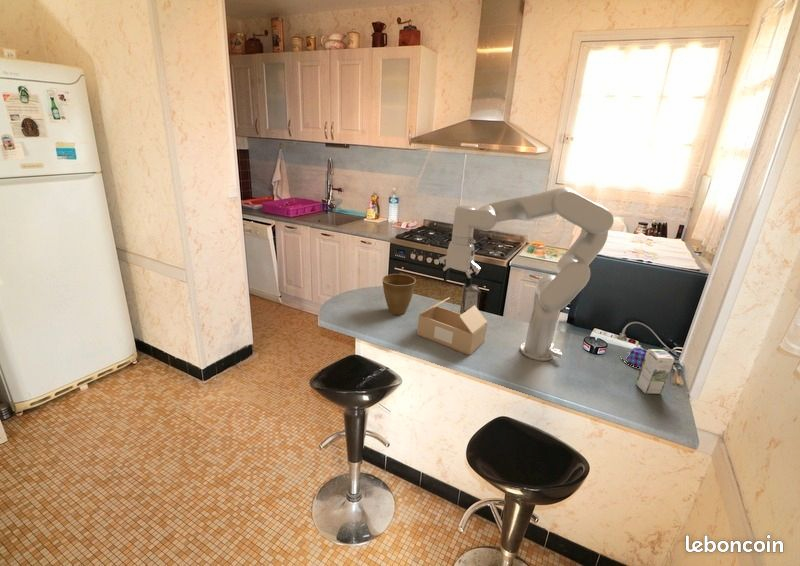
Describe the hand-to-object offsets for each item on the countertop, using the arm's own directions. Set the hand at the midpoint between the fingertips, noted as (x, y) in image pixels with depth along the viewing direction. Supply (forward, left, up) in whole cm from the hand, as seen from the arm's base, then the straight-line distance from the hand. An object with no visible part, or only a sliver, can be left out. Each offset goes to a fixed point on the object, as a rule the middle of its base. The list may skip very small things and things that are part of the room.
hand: (456, 283), depth 150 cm
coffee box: (+2, -19, -24) cm, 31 cm away
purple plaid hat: (-64, -33, -25) cm, 76 cm away
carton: (0, 0, -24) cm, 24 cm away
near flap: (-9, 0, -12) cm, 15 cm away
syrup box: (-69, -15, -24) cm, 75 cm away
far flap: (+8, 0, -12) cm, 15 cm away
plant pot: (+31, -5, -24) cm, 40 cm away
